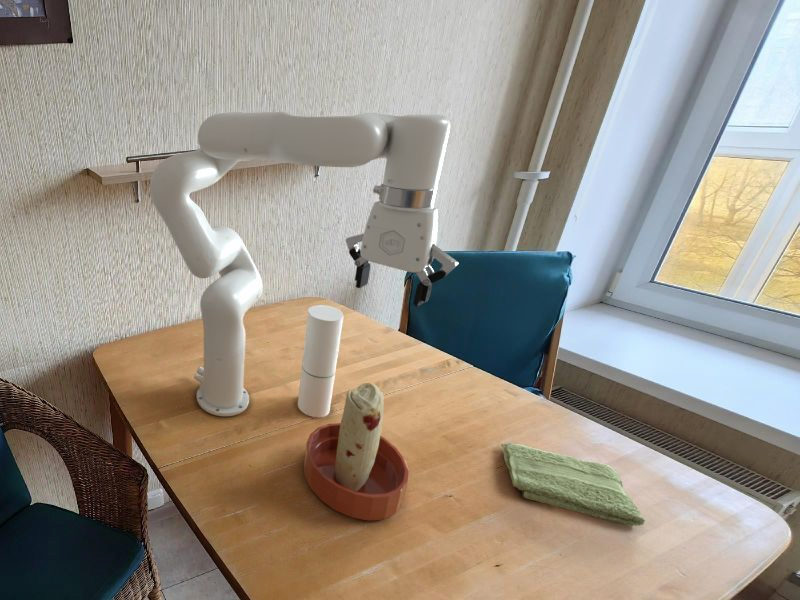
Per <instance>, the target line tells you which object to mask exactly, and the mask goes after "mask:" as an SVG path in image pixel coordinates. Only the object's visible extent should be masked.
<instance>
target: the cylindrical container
mask: <svg viewBox="0 0 800 600" xmlns="http://www.w3.org/2000/svg"><path fill="white" fill-rule="evenodd" d="M307 310H308V311H307V316H306V324H305V334H304V344H303V353H302V363H301V371H300V379H299V388H298V397H297V408H298V409H299V410H300V412H301V413H303V414H305V415H306V416H309V417H312V418H324V417H326V416H328V415H329V414H330V412H331V411H330V410H331V404H332V398H333V391H334V383H335V378H336V370H337V363H338V356H339V350H340V343H341V336H342V328H343V322H344V317H345V316H344V312H343V311H341V309H339V308H337V307H335V306H331V305H325V304H316V305H311V306H310V307H309V308H308V309H307Z"/></svg>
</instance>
